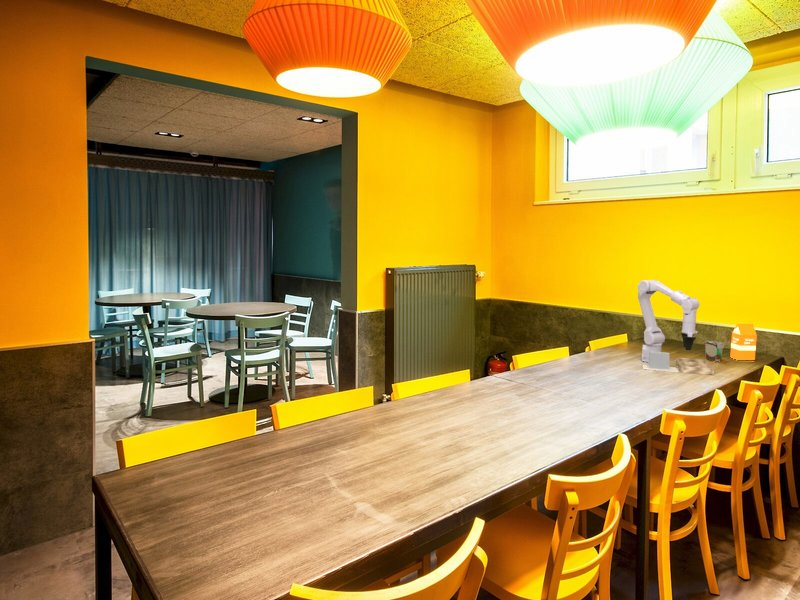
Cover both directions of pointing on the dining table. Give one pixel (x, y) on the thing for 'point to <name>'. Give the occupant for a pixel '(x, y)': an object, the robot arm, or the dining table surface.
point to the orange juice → (743, 342)
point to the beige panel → (671, 369)
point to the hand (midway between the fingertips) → (687, 348)
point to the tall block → (658, 360)
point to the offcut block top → (694, 364)
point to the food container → (714, 350)
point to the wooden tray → (704, 369)
